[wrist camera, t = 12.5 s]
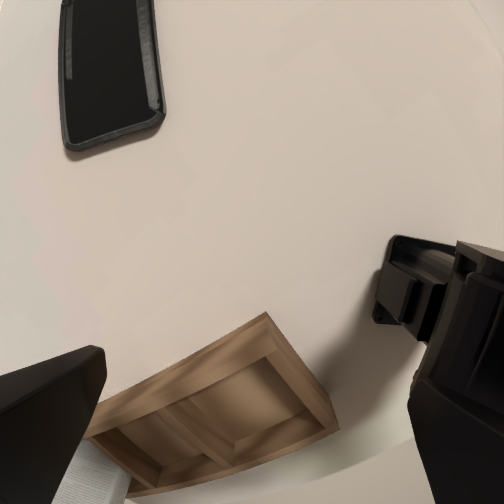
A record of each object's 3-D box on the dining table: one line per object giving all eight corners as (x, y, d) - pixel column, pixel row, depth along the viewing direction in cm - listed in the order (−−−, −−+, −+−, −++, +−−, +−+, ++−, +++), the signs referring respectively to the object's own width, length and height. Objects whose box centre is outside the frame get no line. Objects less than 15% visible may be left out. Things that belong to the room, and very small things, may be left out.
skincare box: (84, 456, 24) (46, 536, 12) (76, 432, 23) (28, 517, 11) (136, 472, 24) (107, 561, 12) (131, 449, 23) (95, 547, 11)
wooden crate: (265, 311, 21) (269, 345, 16) (329, 396, 23) (341, 434, 18) (53, 424, 24) (35, 450, 20) (113, 477, 26) (103, 504, 22)
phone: (148, -40, 14) (165, 122, 17) (152, -33, 15) (170, 125, 18) (61, -4, 14) (62, 155, 18) (66, 1, 15) (70, 156, 19)
